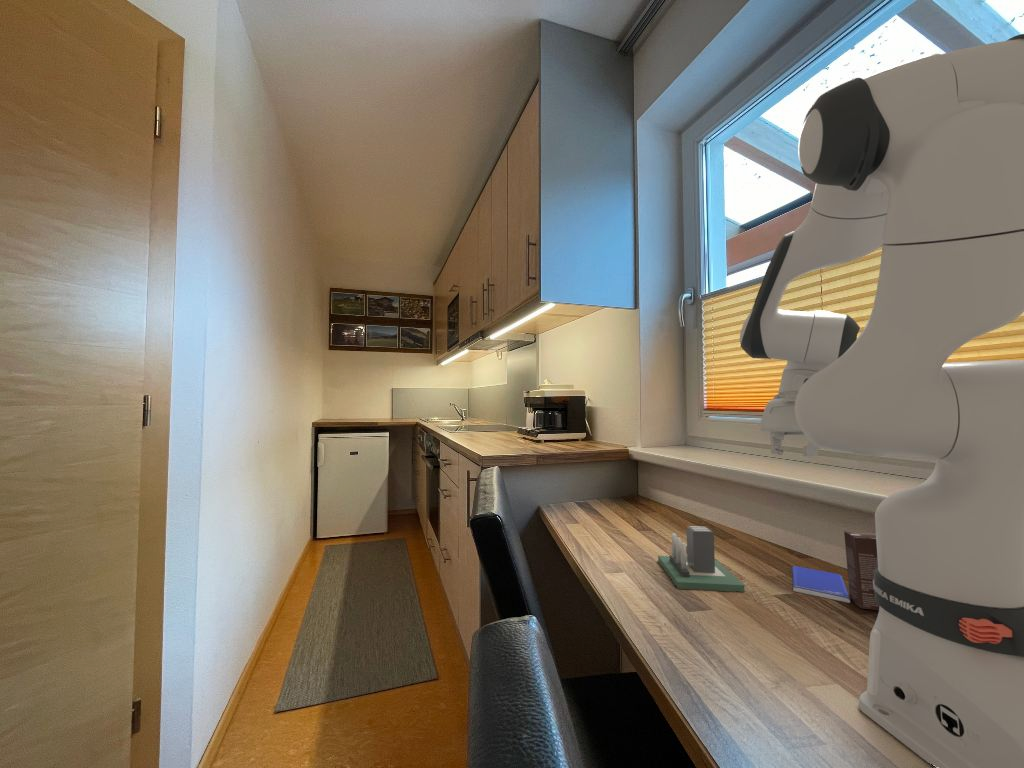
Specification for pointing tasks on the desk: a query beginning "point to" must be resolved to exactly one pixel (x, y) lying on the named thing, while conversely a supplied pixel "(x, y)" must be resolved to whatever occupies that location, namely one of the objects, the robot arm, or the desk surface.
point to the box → (861, 567)
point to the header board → (696, 580)
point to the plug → (700, 549)
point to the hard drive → (819, 584)
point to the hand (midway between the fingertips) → (791, 455)
